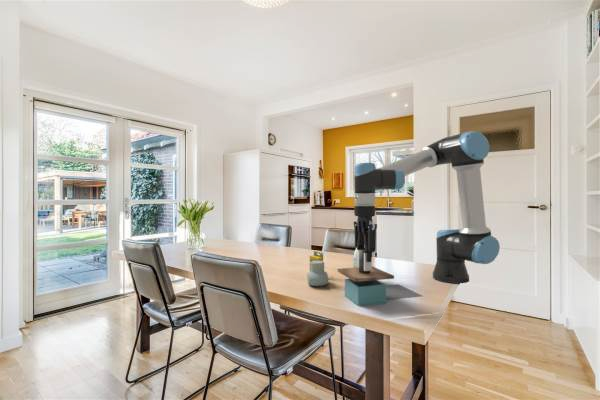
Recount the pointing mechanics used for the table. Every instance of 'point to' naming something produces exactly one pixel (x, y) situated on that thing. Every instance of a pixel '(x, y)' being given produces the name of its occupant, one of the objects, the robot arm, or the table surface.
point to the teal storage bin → (365, 292)
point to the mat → (399, 292)
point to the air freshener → (317, 274)
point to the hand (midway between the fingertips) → (364, 268)
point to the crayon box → (316, 257)
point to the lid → (364, 272)
